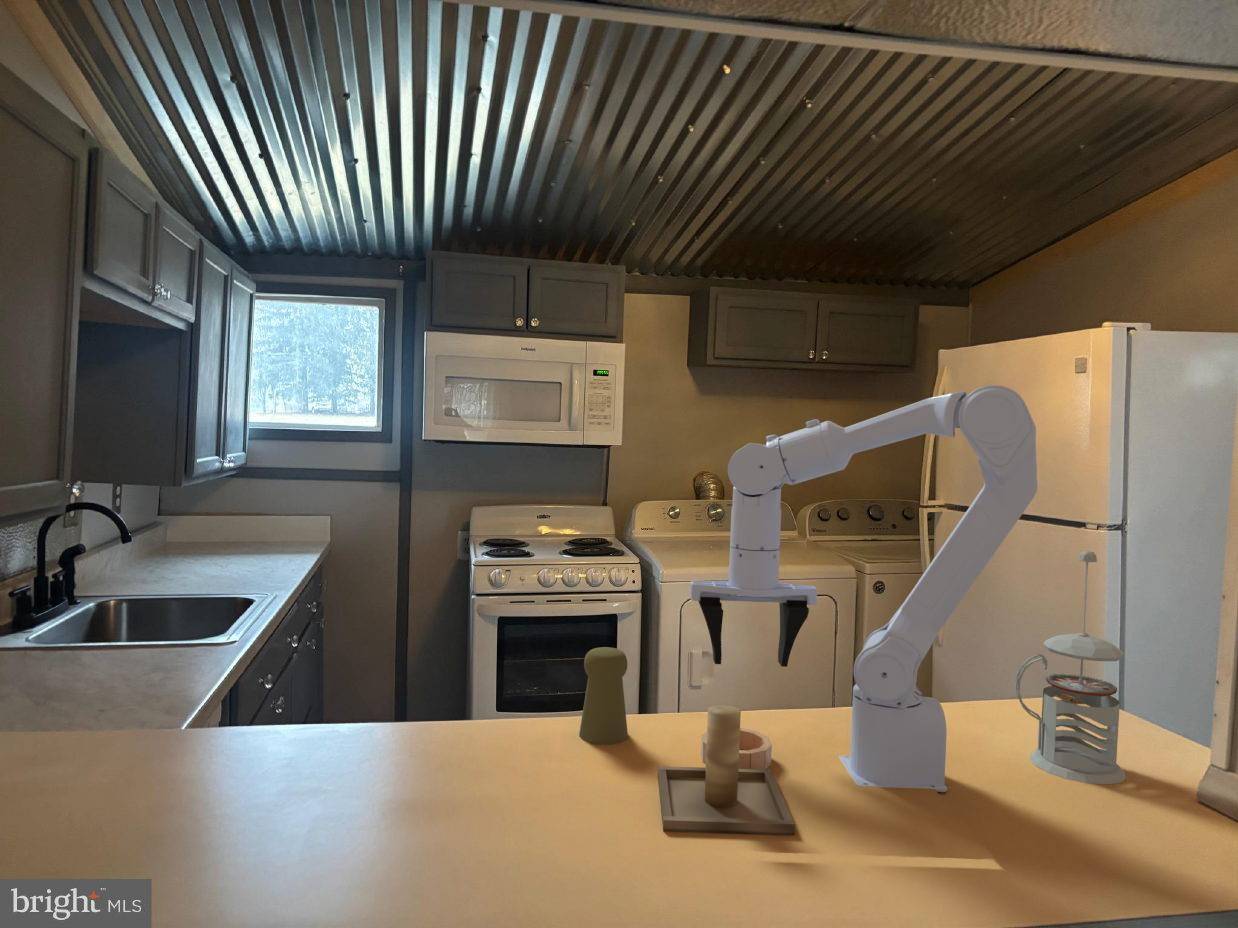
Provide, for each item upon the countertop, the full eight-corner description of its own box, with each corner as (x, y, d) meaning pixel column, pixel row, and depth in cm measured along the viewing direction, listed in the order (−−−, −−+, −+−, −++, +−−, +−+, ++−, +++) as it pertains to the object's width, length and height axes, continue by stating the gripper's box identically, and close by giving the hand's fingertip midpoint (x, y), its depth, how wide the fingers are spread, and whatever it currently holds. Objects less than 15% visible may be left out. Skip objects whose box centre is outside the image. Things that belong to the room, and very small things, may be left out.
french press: (1137, 790, 87) (1150, 560, 86) (1018, 772, 91) (1029, 551, 90) (1114, 756, 96) (1125, 548, 95) (1007, 741, 100) (1017, 541, 99)
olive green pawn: (630, 732, 99) (633, 644, 99) (626, 751, 93) (629, 657, 93) (582, 729, 100) (584, 641, 100) (574, 747, 94) (577, 654, 94)
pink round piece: (763, 751, 94) (764, 728, 94) (775, 779, 87) (776, 754, 87) (698, 749, 94) (699, 726, 94) (705, 777, 87) (706, 751, 87)
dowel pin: (735, 793, 81) (738, 705, 81) (738, 808, 78) (742, 716, 78) (703, 792, 81) (706, 704, 81) (705, 807, 78) (709, 715, 78)
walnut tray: (770, 784, 86) (770, 769, 86) (794, 841, 74) (794, 824, 74) (657, 780, 86) (657, 765, 86) (662, 837, 74) (663, 819, 74)
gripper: (809, 544, 98) (804, 655, 98) (689, 540, 98) (685, 651, 98) (823, 553, 91) (818, 672, 91) (694, 549, 91) (690, 668, 91)
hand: (749, 662), depth 94 cm, fingers open, 7 cm apart
